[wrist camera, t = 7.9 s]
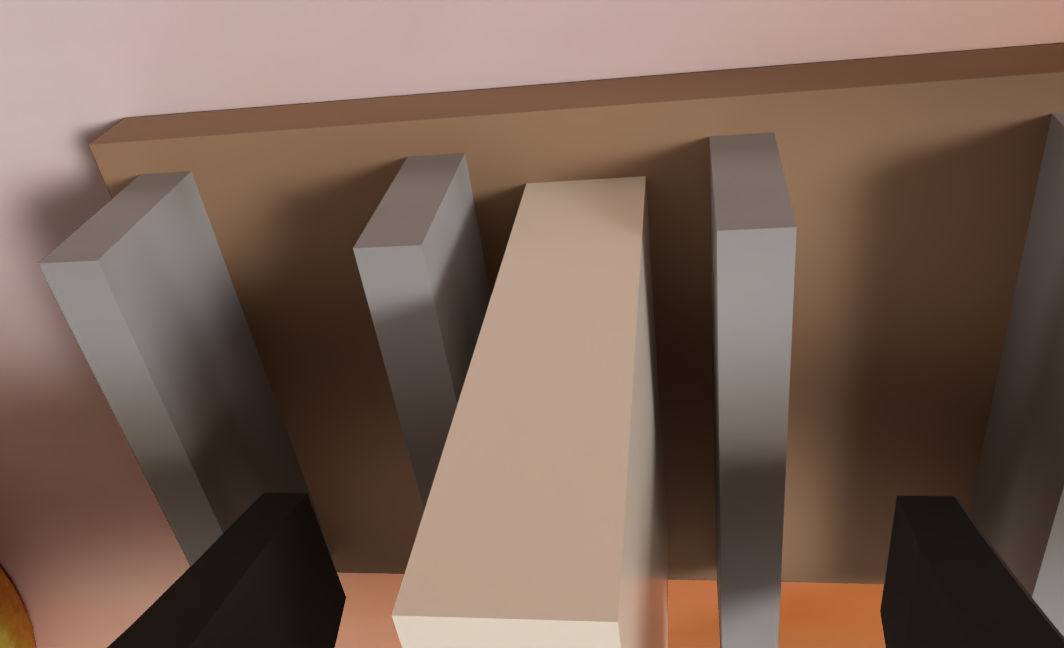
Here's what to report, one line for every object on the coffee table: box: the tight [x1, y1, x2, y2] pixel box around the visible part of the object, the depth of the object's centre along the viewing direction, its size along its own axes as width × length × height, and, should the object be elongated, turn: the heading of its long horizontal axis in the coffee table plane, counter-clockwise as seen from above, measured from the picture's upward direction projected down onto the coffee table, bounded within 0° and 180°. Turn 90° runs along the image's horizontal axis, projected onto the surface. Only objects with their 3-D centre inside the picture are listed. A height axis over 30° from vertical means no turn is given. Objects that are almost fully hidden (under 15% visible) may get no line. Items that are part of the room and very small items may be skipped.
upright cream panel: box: [392, 176, 668, 648], centre depth 11 cm, size 7×2×7 cm, turn 7°
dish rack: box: [38, 43, 1064, 648], centre depth 13 cm, size 9×14×4 cm, turn 97°
